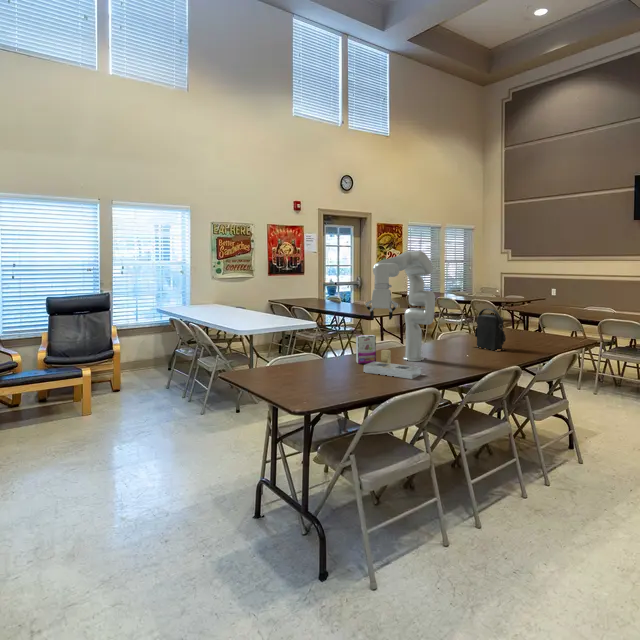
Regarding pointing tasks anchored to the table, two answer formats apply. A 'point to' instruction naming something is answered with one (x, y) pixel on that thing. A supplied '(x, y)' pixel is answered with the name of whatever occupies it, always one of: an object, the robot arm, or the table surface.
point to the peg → (386, 356)
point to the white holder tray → (392, 370)
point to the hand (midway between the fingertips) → (381, 319)
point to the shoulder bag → (490, 331)
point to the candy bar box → (365, 349)
